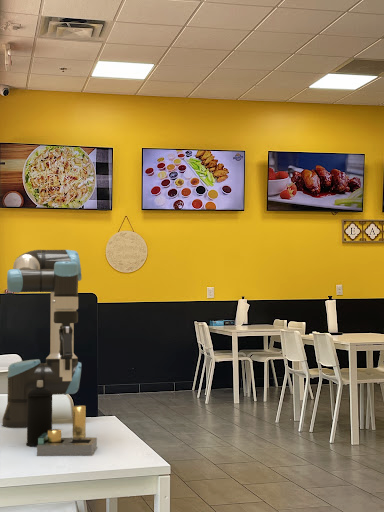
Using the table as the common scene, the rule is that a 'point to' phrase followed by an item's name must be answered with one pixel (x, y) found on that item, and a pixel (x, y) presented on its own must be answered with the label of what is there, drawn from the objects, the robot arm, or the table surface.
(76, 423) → the brass rod
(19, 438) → the table surface
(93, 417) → the table surface
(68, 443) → the jig
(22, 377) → the robot arm
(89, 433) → the table surface
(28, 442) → the aerosol can
